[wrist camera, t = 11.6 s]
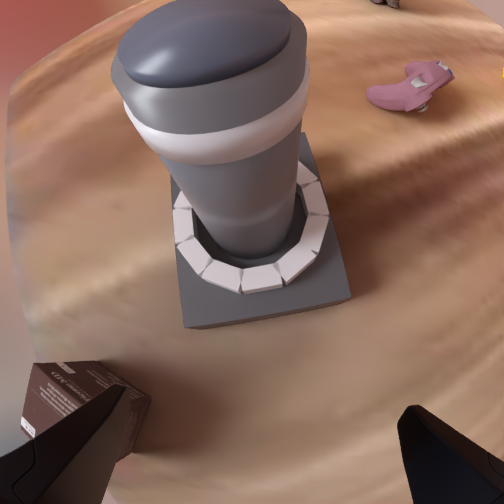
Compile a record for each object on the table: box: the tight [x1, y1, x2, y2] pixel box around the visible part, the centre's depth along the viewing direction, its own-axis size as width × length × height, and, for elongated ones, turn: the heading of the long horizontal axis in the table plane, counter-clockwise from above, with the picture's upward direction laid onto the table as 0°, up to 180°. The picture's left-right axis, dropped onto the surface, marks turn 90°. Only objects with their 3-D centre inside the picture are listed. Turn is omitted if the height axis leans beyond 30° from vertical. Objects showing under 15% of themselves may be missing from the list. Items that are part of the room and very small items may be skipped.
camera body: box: [170, 132, 351, 330], centre depth 20 cm, size 12×10×5 cm
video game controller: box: [366, 60, 455, 112], centre depth 22 cm, size 10×5×7 cm
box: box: [21, 361, 151, 462], centre depth 16 cm, size 6×6×7 cm
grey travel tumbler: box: [111, 0, 310, 260], centre depth 12 cm, size 5×5×14 cm
